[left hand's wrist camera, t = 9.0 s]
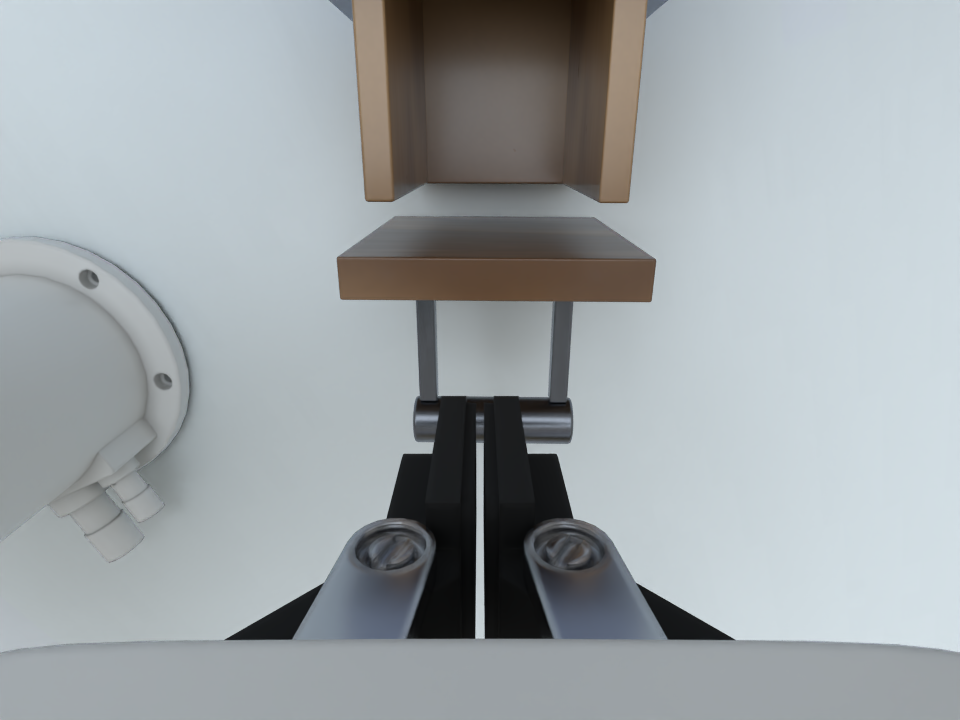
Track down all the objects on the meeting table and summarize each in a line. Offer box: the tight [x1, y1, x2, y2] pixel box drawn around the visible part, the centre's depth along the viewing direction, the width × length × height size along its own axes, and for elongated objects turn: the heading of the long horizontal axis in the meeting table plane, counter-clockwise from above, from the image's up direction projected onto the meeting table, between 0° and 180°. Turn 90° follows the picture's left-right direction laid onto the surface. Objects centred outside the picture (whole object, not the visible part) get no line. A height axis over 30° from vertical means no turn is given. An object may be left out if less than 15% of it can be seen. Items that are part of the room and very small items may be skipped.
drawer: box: [337, 0, 656, 444], centre depth 18 cm, size 25×9×10 cm, turn 0°
